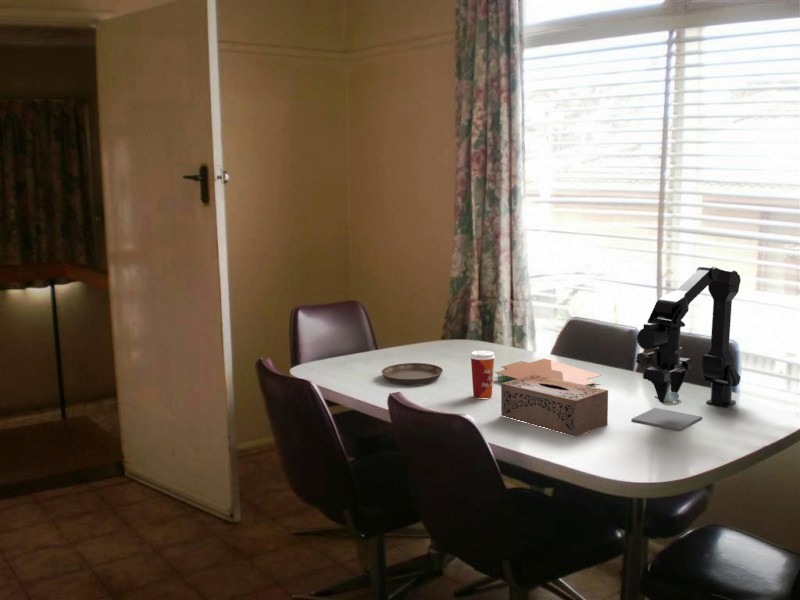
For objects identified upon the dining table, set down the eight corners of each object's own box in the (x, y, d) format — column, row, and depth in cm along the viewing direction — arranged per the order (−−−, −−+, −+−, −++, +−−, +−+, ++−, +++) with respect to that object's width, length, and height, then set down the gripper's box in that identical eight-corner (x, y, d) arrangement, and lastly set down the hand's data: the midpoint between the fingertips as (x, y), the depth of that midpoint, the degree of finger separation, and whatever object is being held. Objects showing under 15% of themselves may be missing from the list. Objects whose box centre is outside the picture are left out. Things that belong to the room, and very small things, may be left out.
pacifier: (686, 404, 234) (669, 398, 239) (688, 382, 233) (670, 377, 238) (668, 408, 230) (651, 402, 235) (669, 386, 229) (652, 381, 234)
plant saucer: (422, 390, 272) (421, 380, 272) (369, 382, 283) (369, 373, 283) (454, 376, 289) (454, 367, 289) (403, 369, 300) (403, 360, 300)
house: (536, 369, 297) (536, 346, 296) (612, 387, 272) (612, 362, 270) (488, 380, 284) (488, 356, 282) (564, 401, 258) (564, 375, 257)
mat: (654, 409, 245) (654, 407, 245) (701, 418, 236) (701, 416, 236) (631, 420, 235) (631, 418, 235) (679, 430, 226) (679, 428, 226)
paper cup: (490, 401, 257) (490, 356, 255) (466, 398, 261) (466, 354, 258) (498, 394, 264) (498, 350, 262) (475, 392, 268) (475, 349, 265)
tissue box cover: (501, 417, 242) (501, 383, 241) (533, 407, 252) (533, 374, 250) (575, 437, 223) (575, 400, 222) (607, 425, 233) (608, 390, 231)
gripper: (657, 334, 244) (655, 387, 247) (625, 346, 231) (624, 401, 233) (694, 339, 237) (692, 393, 239) (664, 351, 223) (662, 409, 226)
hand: (667, 399), depth 235 cm, fingers closed on pacifier, 7 cm apart
